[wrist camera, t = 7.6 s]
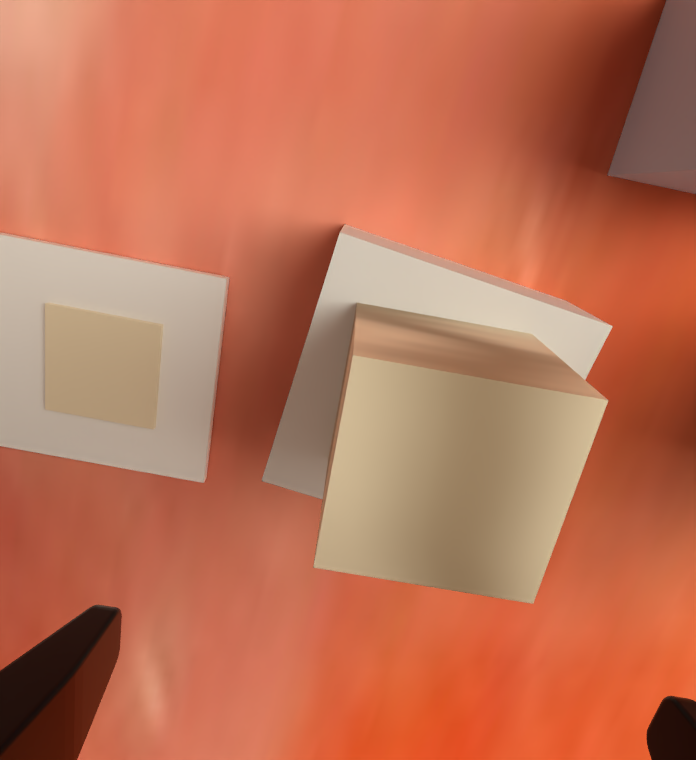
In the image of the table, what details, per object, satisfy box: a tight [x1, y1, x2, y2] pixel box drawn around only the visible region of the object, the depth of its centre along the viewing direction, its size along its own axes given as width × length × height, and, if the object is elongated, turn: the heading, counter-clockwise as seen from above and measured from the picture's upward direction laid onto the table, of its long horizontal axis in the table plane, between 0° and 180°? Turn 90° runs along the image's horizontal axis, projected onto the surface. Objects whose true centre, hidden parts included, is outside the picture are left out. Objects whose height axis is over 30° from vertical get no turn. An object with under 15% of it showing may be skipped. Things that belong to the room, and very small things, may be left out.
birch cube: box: [313, 302, 608, 604], centre depth 13 cm, size 5×5×5 cm
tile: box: [0, 232, 230, 483], centre depth 19 cm, size 8×8×1 cm
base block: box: [262, 224, 613, 499], centre depth 18 cm, size 8×8×4 cm
